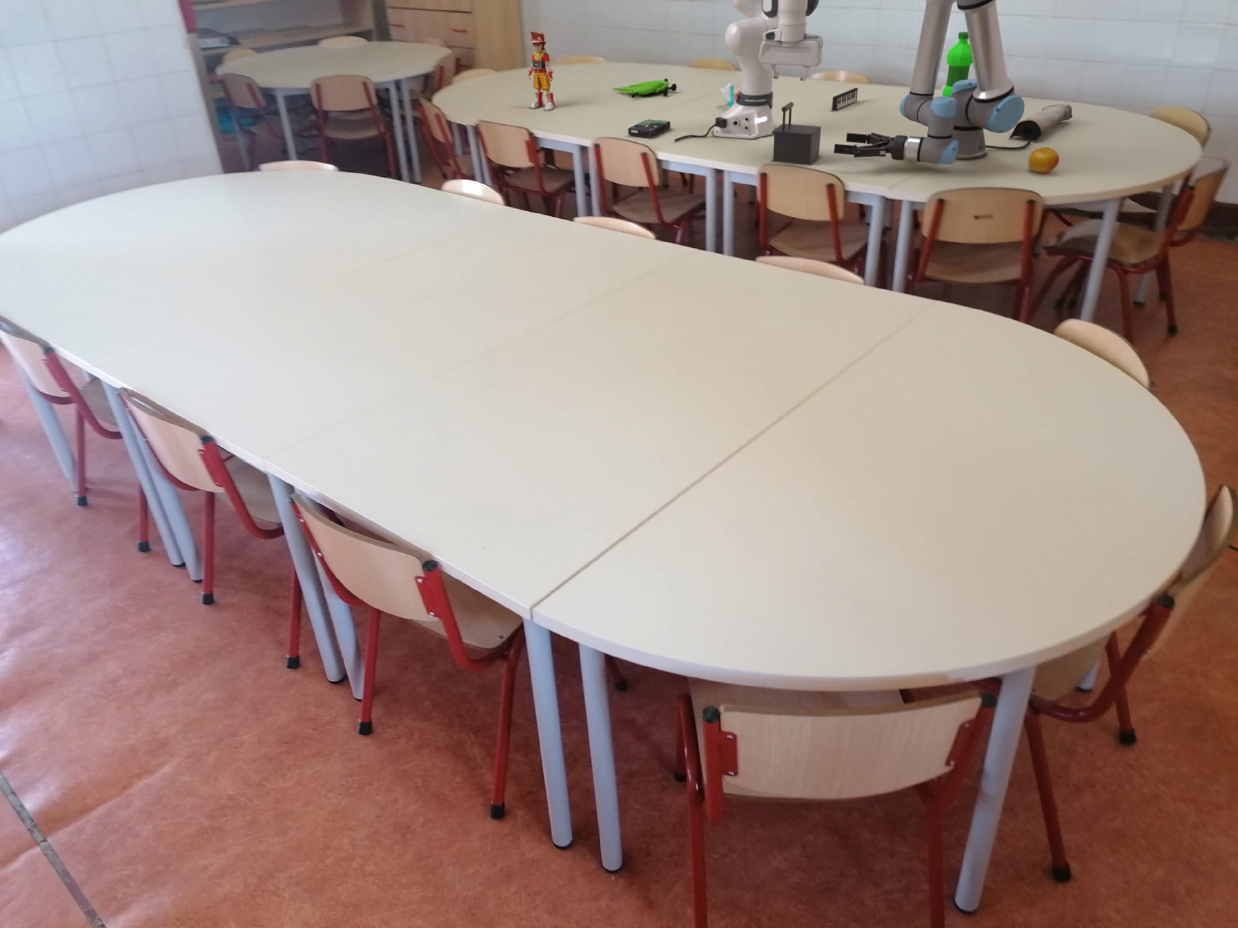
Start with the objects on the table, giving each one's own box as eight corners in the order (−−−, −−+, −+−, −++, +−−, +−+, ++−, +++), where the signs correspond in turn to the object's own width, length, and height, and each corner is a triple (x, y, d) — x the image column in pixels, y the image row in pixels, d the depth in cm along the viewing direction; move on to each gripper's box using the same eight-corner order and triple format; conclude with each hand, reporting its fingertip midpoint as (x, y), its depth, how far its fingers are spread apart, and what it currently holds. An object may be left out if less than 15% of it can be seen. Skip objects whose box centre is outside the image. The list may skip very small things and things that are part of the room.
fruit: (1023, 163, 276) (1041, 139, 273) (1022, 165, 284) (1039, 142, 281) (1047, 178, 275) (1065, 155, 272) (1044, 180, 283) (1062, 157, 280)
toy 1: (525, 109, 381) (517, 32, 364) (534, 104, 388) (527, 28, 371) (550, 110, 377) (543, 32, 360) (559, 105, 384) (553, 28, 367)
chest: (772, 161, 304) (774, 134, 298) (782, 153, 310) (784, 126, 305) (809, 164, 298) (811, 137, 293) (818, 156, 305) (820, 129, 300)
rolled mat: (1039, 109, 327) (1064, 92, 319) (1053, 130, 328) (1078, 113, 320) (1005, 132, 310) (1030, 114, 302) (1020, 154, 310) (1045, 137, 302)
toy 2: (686, 85, 398) (631, 84, 414) (685, 72, 395) (629, 72, 411) (651, 104, 381) (596, 103, 397) (650, 92, 378) (594, 91, 394)
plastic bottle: (973, 101, 354) (984, 32, 339) (955, 106, 349) (966, 36, 335) (952, 97, 361) (962, 29, 346) (934, 102, 356) (944, 33, 342)
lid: (772, 133, 299) (773, 107, 294) (782, 126, 306) (783, 100, 301) (811, 137, 293) (813, 110, 288) (820, 129, 300) (822, 103, 295)
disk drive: (651, 138, 334) (670, 128, 344) (651, 131, 332) (670, 120, 342) (627, 136, 339) (647, 125, 349) (627, 128, 337) (647, 118, 347)
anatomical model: (716, 82, 367) (740, 75, 367) (721, 107, 373) (744, 101, 372) (722, 90, 355) (747, 83, 354) (727, 117, 361) (751, 110, 360)
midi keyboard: (834, 110, 353) (835, 97, 350) (831, 110, 354) (832, 97, 351) (857, 101, 364) (858, 88, 361) (854, 101, 364) (855, 88, 361)
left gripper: (826, 32, 282) (823, 79, 290) (765, 30, 290) (763, 76, 298) (820, 36, 277) (816, 83, 285) (758, 34, 286) (756, 80, 294)
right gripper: (894, 171, 278) (828, 165, 287) (913, 149, 296) (850, 144, 305) (897, 147, 274) (830, 141, 283) (917, 126, 292) (852, 121, 301)
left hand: (789, 79), depth 292 cm, fingers open, 8 cm apart
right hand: (840, 143), depth 294 cm, fingers open, 13 cm apart
